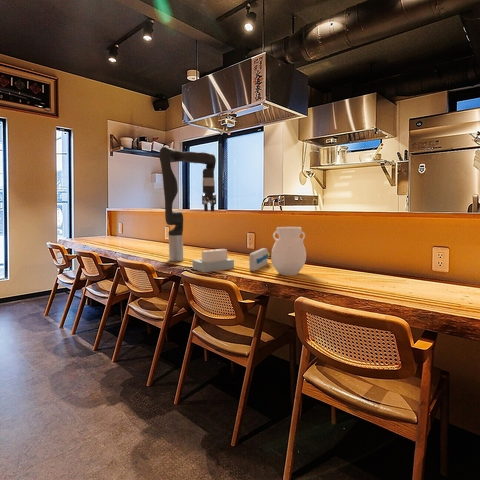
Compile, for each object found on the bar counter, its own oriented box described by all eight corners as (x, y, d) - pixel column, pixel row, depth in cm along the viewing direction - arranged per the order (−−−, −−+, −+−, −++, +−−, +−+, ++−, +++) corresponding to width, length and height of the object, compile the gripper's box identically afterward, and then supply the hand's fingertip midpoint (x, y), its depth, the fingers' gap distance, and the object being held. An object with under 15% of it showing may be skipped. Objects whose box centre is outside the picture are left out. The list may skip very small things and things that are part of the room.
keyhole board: (192, 268, 203) (192, 260, 202) (221, 264, 214) (221, 256, 213) (203, 272, 191) (203, 263, 191) (233, 268, 202) (233, 259, 202)
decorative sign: (255, 271, 192) (255, 254, 190) (249, 271, 193) (249, 253, 192) (271, 262, 221) (271, 246, 220) (265, 261, 223) (265, 246, 222)
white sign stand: (202, 268, 199) (201, 250, 198) (223, 265, 206) (222, 248, 205) (206, 269, 195) (205, 251, 193) (227, 266, 202) (227, 249, 201)
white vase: (308, 271, 191) (308, 226, 188) (303, 278, 174) (303, 228, 171) (275, 269, 197) (275, 225, 194) (267, 276, 180) (267, 228, 177)
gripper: (198, 185, 220) (198, 211, 222) (208, 184, 208) (209, 211, 210) (208, 186, 224) (209, 211, 226) (219, 185, 212) (220, 211, 214)
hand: (209, 211), depth 218 cm, fingers open, 8 cm apart
